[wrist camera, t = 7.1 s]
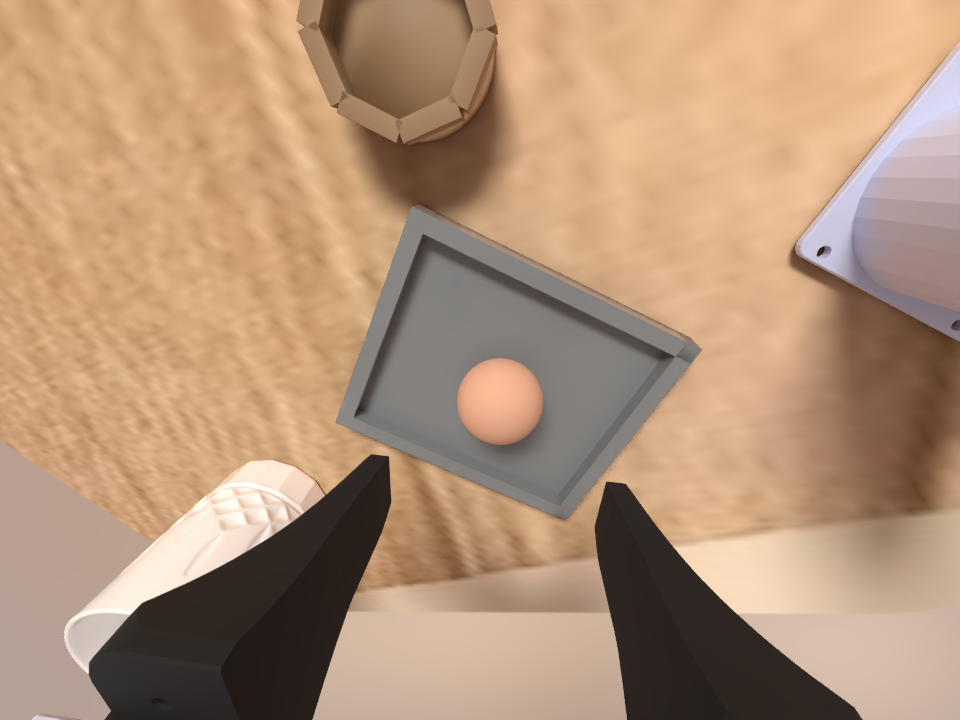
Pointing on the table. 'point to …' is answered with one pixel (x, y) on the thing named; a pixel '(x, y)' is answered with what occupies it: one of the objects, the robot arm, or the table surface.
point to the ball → (500, 401)
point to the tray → (511, 335)
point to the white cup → (197, 546)
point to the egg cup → (402, 62)
